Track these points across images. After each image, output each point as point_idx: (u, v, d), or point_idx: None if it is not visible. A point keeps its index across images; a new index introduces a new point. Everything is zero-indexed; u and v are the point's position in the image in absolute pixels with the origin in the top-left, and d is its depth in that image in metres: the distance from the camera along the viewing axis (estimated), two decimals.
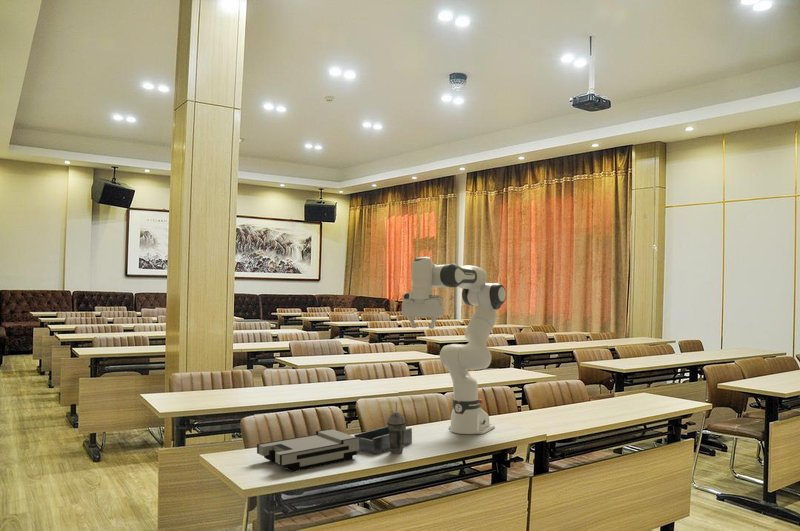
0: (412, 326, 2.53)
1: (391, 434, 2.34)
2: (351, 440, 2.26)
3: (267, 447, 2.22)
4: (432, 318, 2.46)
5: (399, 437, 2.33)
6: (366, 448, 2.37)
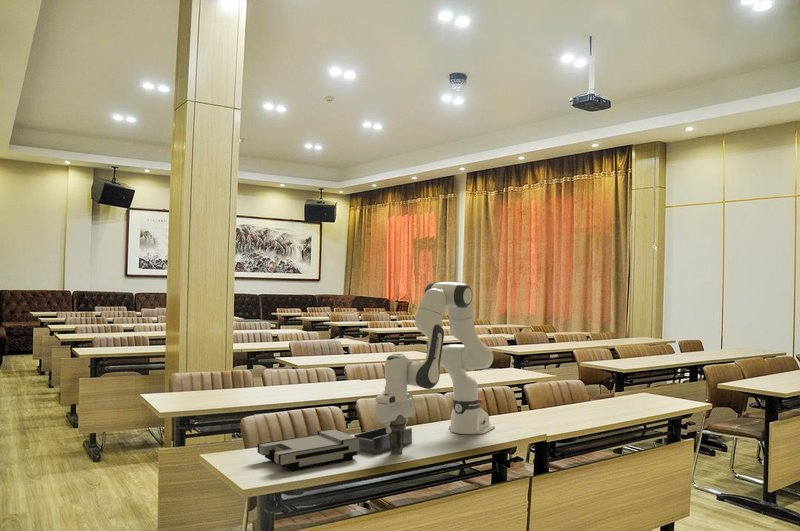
0: (390, 431, 2.32)
1: (391, 434, 2.34)
2: (351, 440, 2.25)
3: (267, 447, 2.22)
4: (407, 418, 2.39)
5: (399, 437, 2.33)
6: (366, 448, 2.37)
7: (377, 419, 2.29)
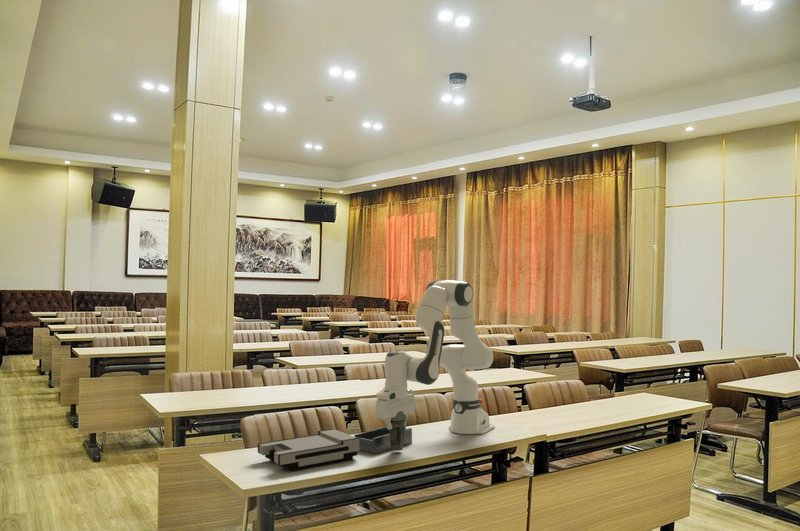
0: (391, 427, 2.33)
1: (391, 430, 2.34)
2: (351, 440, 2.25)
3: (267, 446, 2.22)
4: (407, 414, 2.40)
5: (399, 433, 2.34)
6: (366, 448, 2.37)
7: (377, 416, 2.29)
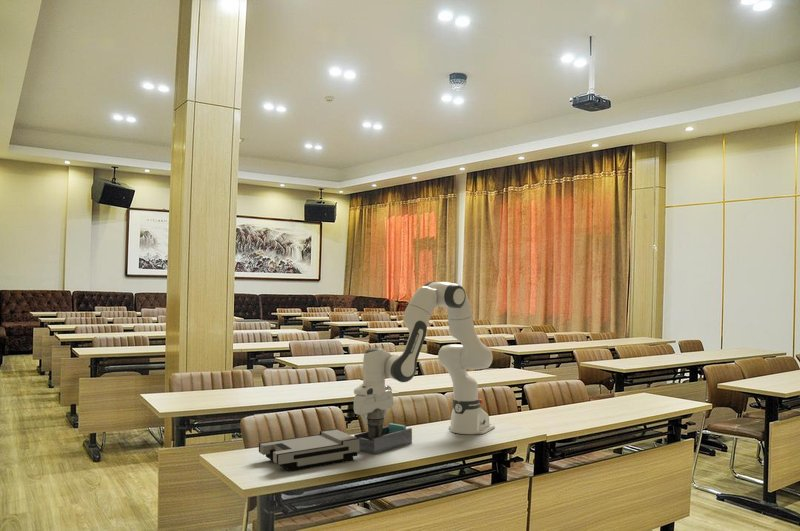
0: (367, 423, 2.38)
1: (370, 428, 2.39)
2: (351, 441, 2.24)
3: (268, 446, 2.23)
4: (386, 409, 2.46)
5: (377, 431, 2.39)
6: (366, 448, 2.37)
7: (355, 411, 2.35)
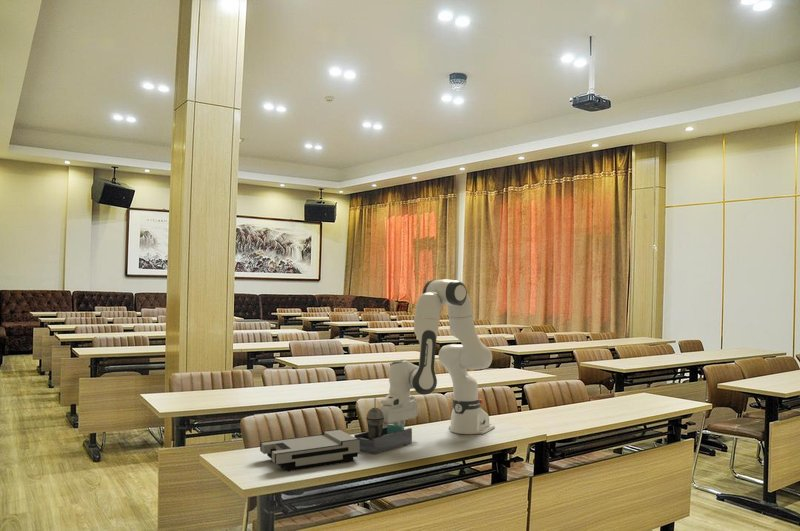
0: None
1: (370, 428, 2.39)
2: (351, 442, 2.23)
3: (268, 445, 2.24)
4: (404, 420, 2.55)
5: (377, 431, 2.39)
6: (366, 448, 2.37)
7: None
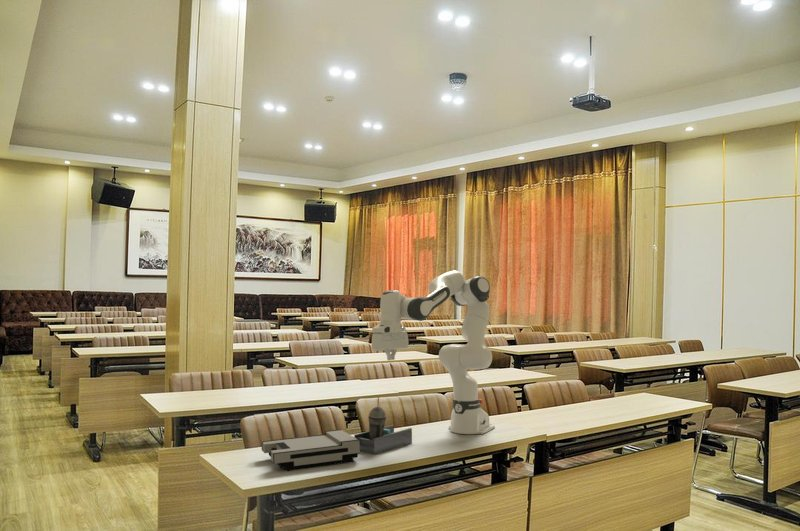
0: (391, 358, 2.56)
1: (371, 427, 2.39)
2: (351, 442, 2.22)
3: (269, 445, 2.25)
4: (395, 349, 2.58)
5: (379, 431, 2.39)
6: (366, 448, 2.37)
7: (373, 348, 2.51)
